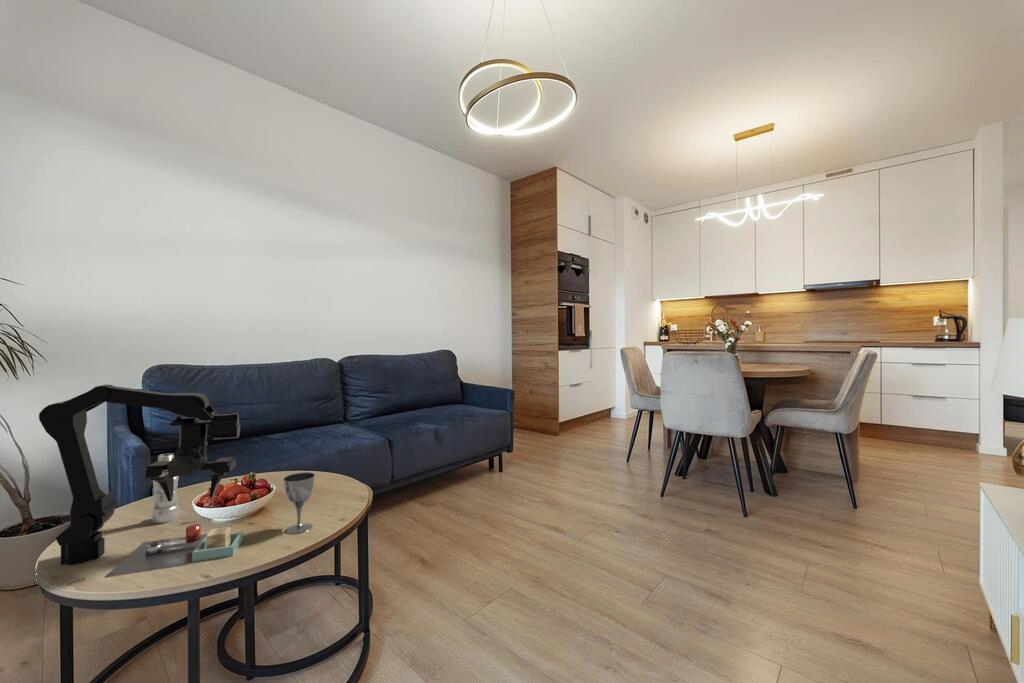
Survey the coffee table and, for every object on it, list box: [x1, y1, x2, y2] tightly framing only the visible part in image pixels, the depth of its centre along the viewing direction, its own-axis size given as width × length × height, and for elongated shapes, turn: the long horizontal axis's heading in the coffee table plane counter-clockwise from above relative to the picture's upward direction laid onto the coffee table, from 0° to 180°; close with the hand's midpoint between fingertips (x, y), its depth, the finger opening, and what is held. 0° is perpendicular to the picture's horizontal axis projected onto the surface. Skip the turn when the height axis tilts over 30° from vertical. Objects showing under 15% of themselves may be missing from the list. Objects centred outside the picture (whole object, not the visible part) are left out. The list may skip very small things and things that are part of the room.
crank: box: [146, 523, 202, 554], centre depth 103 cm, size 11×3×5 cm, turn 113°
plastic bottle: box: [150, 452, 180, 525], centre depth 120 cm, size 6×7×20 cm
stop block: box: [206, 526, 231, 549], centre depth 103 cm, size 4×4×5 cm
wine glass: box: [282, 471, 315, 535], centre depth 116 cm, size 8×8×15 cm
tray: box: [191, 531, 244, 563], centre depth 103 cm, size 8×8×3 cm
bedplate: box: [104, 533, 209, 578], centre depth 101 cm, size 15×17×1 cm
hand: (191, 499), depth 108 cm, fingers open, 9 cm apart
